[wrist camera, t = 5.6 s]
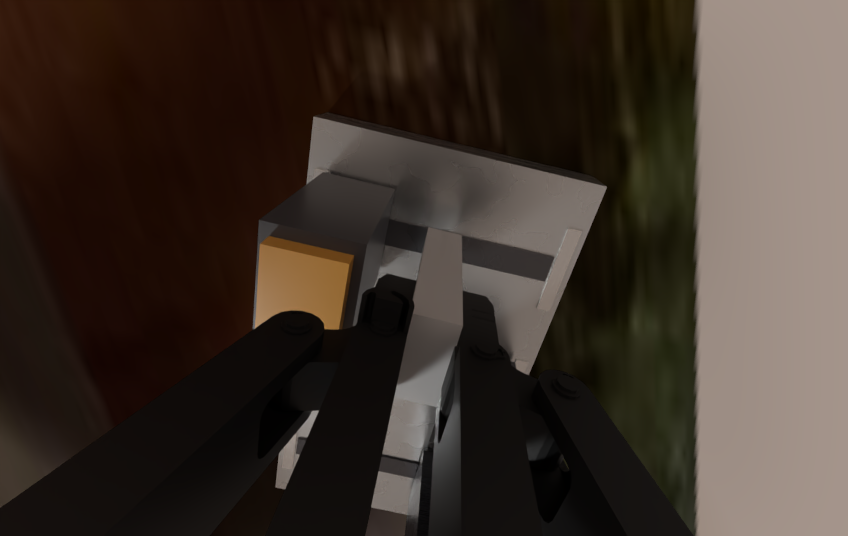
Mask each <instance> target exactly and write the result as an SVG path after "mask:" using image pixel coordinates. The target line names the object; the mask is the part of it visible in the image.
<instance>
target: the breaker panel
mask: <svg viewBox="0 0 848 536" xmlns="http://www.w3.org/2000/svg"><path fill="white" fill-rule="evenodd" d="M322 172H325V173H329V174H334V175H338V176H342V177H346V178H351V179H355V180H359V181H363V182H368V183H372V184H376V185H380V186H385V187H389V188H393V189H395V193H394V198H393V203H392V208H391V213H390V218H389V224H388V229H387V234H386V239H385V244H384V249H383V254H382V259H381V264H380V269H379V275H378V277H377V280H376V283H377V281H378V279H379V278H381V277H382V276H384V275H386V274H391V275H395V276H400V277H404V278H408V279H412V280H415V279H416V275H417V271H418V267H419V263H420V259H421V255H422V251H423V247H424V243H425V239H426V235H427V231H428V227H431V228H435V229H439V230H443V231H447V232H451V233H455V234H459V235H462V286H463V291H466V292H471V293H475V294H479V295H483V296H486V297H487V298H488V299H489V301H490V302H491V303H492V304H493V306H494V313H495V315H494V316H495V320H496V322H495V323H496V327H497V333H498V340H499V345H501V346H502V347H503V348H504V349H505V350H506V351H507V353H508V355H509V357H510V361H511V366H513V367H514V368H515V369H517V370H519V371H521V372H523V373H525V374H527V375H529V373H530V371H531V369H532V366H533V364H534V361H535V359H536V357H537V354H538V352H539V349H540V347H541V345H542V342H543V340H544V337H545V335H546V333H547V330H548V328H549V325H550V323H551V321H552V318H553V316H554V313H555V311H556V309H557V306H558V304H559V301H560V299H561V297H562V294H563V292H564V289H565V287H566V285H567V282H568V280H569V277H570V275H571V273H572V270H573V268H574V265H575V263H576V261H577V258H578V256H579V253H580V251H581V249H582V246H583V244H584V241H585V239H586V237H587V234H588V232H589V229H590V227H591V225H592V222H593V220H594V217H595V215H596V213H597V210H598V208H599V205H600V203H601V201H602V198H603V196H604V193H605V191H606V189H607V186H605V185H604V184H603V183H601V182H600V181H598V180H597V179H596V178H594V177H593V176H590V175H586V174H582V173H578V172H574V171H570V170H565V169H561V168H557V167H553V166H549V165H545V164H540V163H536V162H532V161H528V160H524V159H520V158H515V157H511V156H507V155H503V154H499V153H495V152H491V151H486V150H482V149H478V148H474V147H470V146H466V145H461V144H457V143H453V142H449V141H445V140H441V139H436V138H432V137H428V136H424V135H420V134H416V133H412V132H407V131H403V130H399V129H395V128H391V127H387V126H382V125H378V124H374V123H370V122H366V121H362V120H357V119H353V118H349V117H345V116H341V115H337V114H332V113H328V112H327V113H323V114H320V115H316V116H313V126H312V136H311V145H310V155H309V165H308V175H307V184H308V183H309V182H310V181H312V180H313V179H314V178H316V177H317V176H318V175H320V174H321V173H322ZM376 283H375V285H374V287H375V286H376ZM440 403H441V396H440V399H439V402H438V406H437V407H434V406H429V405H425V404H421V403H417V402H412V401H408V400H404V399H399V398H395V397H394V401H393V406H392V410H391V415H390V420H389V425H388V429H387V434H386V439H385V443H384V448H383V453H382V458H381V462H380V467H379V472H378V477H377V481H376V486H375V491H374V495H373V500H372V505H371V507H372V508H377V509H382V510H387V511H392V512H397V513H401V514H406V515H407V521H406V530H405V536H428V531H429V515H430V499H431V484H432V468H433V452H434V441H433V443H431V442H429V440H430V437H431V434H432V430H433V427H434V424H435V421H436V418H437V415H438V412H439V409H440ZM318 412H319V411H312V412H311V414H310V416H309V418H308V419H307V420H306V422H305V423H304V424H303V425H302V426H301V428H300V429H299V430H298V431H297V432H296V433H295V435H294V436H293V437H292V438H291V439H290V441H289V442H288V443H287V444H286V445H285V447H284V448H283V449H282V450H281V451H280V453H279V457H278V467H277V477H276V488H281V489H285V488H286V486H287V484H288V481H289V479H290V477H291V474H292V472H293V470H294V467H295V465H296V463H297V460H298V458H299V456H300V454H301V451H302V449H303V447H304V444H305V442H306V440H307V437H308V435H309V433H310V430H311V428H312V426H313V423H314V421H315V419H316V416H317V414H318Z"/></svg>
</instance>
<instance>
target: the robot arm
mask: <svg viewBox="0 0 848 536" xmlns="http://www.w3.org/2000/svg"><path fill="white" fill-rule="evenodd" d="M494 315H495V313H494V306H493V304H492V303H491V302H490V301H489V299H488V298H487V297H486V296H483V295H479V294H475V293H471V292H466V291H463V286H462V235H459V234H455V233H451V232H447V231H443V230H439V229H435V228H431V227H428V231H427V235H426V239H425V243H424V247H423V251H422V255H421V259H420V263H419V267H418V271H417V275H416V279H415V280H412V279H408V278H404V277H400V276H395V275H391V274H386V275H384V276H382V277H381V278H379V279H378V281H377V283H376V286H375V287H373V288H370V289H367V290H366V291H365V292H364V293H363V294H362V299H361V304H360V309H359V314H358V320H357V323H356V325H355V326H353V327H350V328H346V329H324V323H323V322H322V320H321V319H320V318H319V317H317V316H315V315H314V314H312V313H308V312H304V311H297V310H290V311H284V312H280V313H278V314H276V315H274V316H272V317H271V318H269V319H268V320H266V321H265V322H263V323H262V324H261V325H259V326H258V327H256V328H255V329H253V330H252V331H251V332H249V333H248V334H246V335H245V336H244V337H242V338H241V339H239V340H238V341H236V342H235V343H234V344H232V345H231V346H229V347H228V348H227V349H225V350H224V351H222V352H221V353H219V354H218V355H217V356H215V357H214V358H212V359H211V360H210V361H208V362H207V363H205V364H204V365H202V366H201V367H200V368H198V369H197V370H195V371H194V372H193V373H191V374H190V375H188V376H187V377H185V378H184V379H183V380H181V381H180V382H178V383H177V384H175V385H174V386H173V387H171V388H170V389H168V390H167V391H166V392H164V393H163V394H161V395H160V396H158V397H157V398H156V399H154V400H153V401H151V402H150V403H149V404H147V405H146V406H144V407H143V408H141V409H140V410H139V411H137V412H136V413H134V414H133V415H132V416H130V417H129V418H127V419H126V420H124V421H123V422H122V423H120V424H119V425H117V426H116V427H114V428H113V429H112V430H110V431H109V432H107V433H106V434H105V435H103V436H102V437H100V438H99V439H97V440H96V441H95V442H93V443H92V444H90V445H89V446H88V447H86V448H85V449H83V450H82V451H80V452H79V453H78V454H76V455H75V456H73V457H72V458H71V459H69V460H68V461H66V462H65V463H63V464H62V465H61V466H59V467H58V468H56V469H55V470H54V471H52V472H51V473H49V474H48V475H46V476H45V477H44V478H42V479H41V480H39V481H38V482H36V483H35V484H34V485H32V486H31V487H29V488H28V489H27V490H25V491H24V492H22V493H21V494H19V495H18V496H17V497H15V498H14V499H12V500H11V501H10V502H8V503H7V504H5V505H4V506H2V507H1V508H0V536H210V535H211V534H212V532H213V531H214V530H215V529H216V528H217V526H218V525H219V524H220V523H221V522H222V520H223V519H224V518H225V517H226V516H227V514H228V513H229V512H230V511H231V510H232V509H233V507H234V506H235V505H236V504H237V503H238V501H239V500H240V499H241V498H242V497H243V495H244V494H245V493H246V492H247V491H248V489H249V488H250V487H251V486H252V485H253V483H254V482H255V481H256V480H257V479H258V478H259V476H260V475H261V474H262V473H263V472H264V470H265V469H266V468H267V467H268V466H269V464H270V463H271V462H272V461H273V460H274V458H275V457H276V456H277V455H278V454H279V453H280V451H281V450H282V449H283V448H284V447H285V445H286V444H287V443H288V442H289V441H290V439H291V438H292V437H293V436H294V435H295V433H296V432H297V431H298V430H299V429H300V428H301V426H302V425H303V424H304V423H305V422H306V420H307V419H308V418H309V416H310V414H311V412H312V411H319V412H318V414H317V416H316V419H315V421H314V423H313V426H312V428H311V430H310V433H309V435H308V437H307V440H306V442H305V444H304V447H303V449H302V451H301V454H300V456H299V458H298V460H297V463H296V465H295V467H294V470H293V472H292V474H291V477H290V479H289V481H288V484H287V486H286V488H285V491H284V493H283V495H282V498H281V500H280V502H279V505H278V507H277V509H276V512H275V514H274V516H273V519H272V521H271V523H270V526H269V528H268V530H267V533H266V535H265V536H365V533H366V529H367V524H368V519H369V514H370V510H371V505H372V500H373V495H374V491H375V486H376V481H377V477H378V472H379V467H380V462H381V458H382V453H383V448H384V443H385V439H386V434H387V429H388V425H389V420H390V415H391V410H392V406H393V401H394V397H395V398H399V399H404V400H408V401H412V402H417V403H421V404H425V405H429V406H434V407H437V406H438V402H439V399H440V396H441V403H440V409H439V412H438V415H437V418H436V421H435V424H434V427H433V430H432V434H431V437H430V440H429V442H431V443H433V441H434V452H433V468H432V484H431V499H430V515H429V531H428V536H693V534H692V533H691V531H690V530H689V529H688V527H687V526H686V524H685V523H684V522H683V520H682V519H681V517H680V516H679V515H678V513H677V512H676V510H675V509H674V508H673V506H672V505H671V503H670V502H669V500H668V499H667V498H666V496H665V495H664V493H663V492H662V491H661V489H660V488H659V486H658V485H657V484H656V482H655V481H654V479H653V478H652V477H651V475H650V474H649V472H648V471H647V470H646V468H645V467H644V465H643V464H642V463H641V461H640V460H639V458H638V457H637V456H636V454H635V453H634V451H633V450H632V449H631V447H630V446H629V444H628V443H627V441H626V440H625V439H624V437H623V436H622V434H621V433H620V432H619V430H618V429H617V427H616V426H615V425H614V423H613V422H612V420H611V419H610V418H609V416H608V415H607V413H606V412H605V411H604V409H603V408H602V406H601V405H600V404H599V402H598V401H597V399H596V398H595V397H594V395H593V394H592V392H591V391H590V390H589V388H588V387H587V386H586V385H585V384H584V383H583V382H582V381H580V380H579V379H577V378H576V377H575V376H573V375H571V374H568V373H566V372H563V371H558V370H546V371H544V372H542V373H541V374H540V376H539V378H538V379H536V378H534V377H531V376H529V375H527V374H525V373H523V372H521V371H519V370H517V369H515V368H514V367H513V366H511V361H510V357H509V355H508V353H507V351H506V350H505V349H504V348H503V347H502V346H501V345H499V340H498V333H497V327H496V323H495V322H496V320H495V316H494ZM563 458H564V459H565V461H566V462H567V464H568V467H569V469H568V468H567V466H566V465H565V463H564V461H563Z"/></svg>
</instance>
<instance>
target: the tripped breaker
mask: <svg viewBox="0 0 848 536" xmlns="http://www.w3.org/2000/svg"><path fill="white" fill-rule="evenodd" d="M394 193H395V189H393V188H389V187H385V186H380V185H376V184H372V183H368V182H363V181H359V180H355V179H351V178H346V177H342V176H338V175H334V174H329V173H325V172H322V173H321V174H320V175H318V176H317V177H316V178H314V179H313V180H312V181H310V182H309V183H308V184H306V185H305V186H304V187H302V188H301V189H300V190H298V191H297V192H296V193H294V194H293V195H292V196H290V197H289V198H288V199H286V200H285V201H284V202H282V203H281V204H280V205H278V206H277V207H276V208H274V209H273V210H272V211H270V212H269V213H268V214H266V215H265V216H264V217H262V218H261V219H260V220H259V228H258V246H257V264H256V282H255V301H254V319H253V329H255V328H256V327H258V326H259V325H261V324H262V323H263V322H265V321H266V320H268V319H269V318H271V317H272V316H274V315H276V314H278V313H280V312H284V311H290V310H297V311H304V312H308V313H312V314H314V315H315V316H317V317H319V318H320V319H321V320H322V322H323V323H324V329H346V328H350V327H353V326H355V325H356V323H357V320H358V314H359V309H360V304H361V299H362V294H363V293H364V292H365V291H366V290H367V289H370V288H373V287H374V285H375V283H376V280H377V277H378V275H379V269H380V264H381V259H382V254H383V249H384V244H385V239H386V234H387V229H388V224H389V218H390V213H391V208H392V203H393V198H394Z"/></svg>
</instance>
